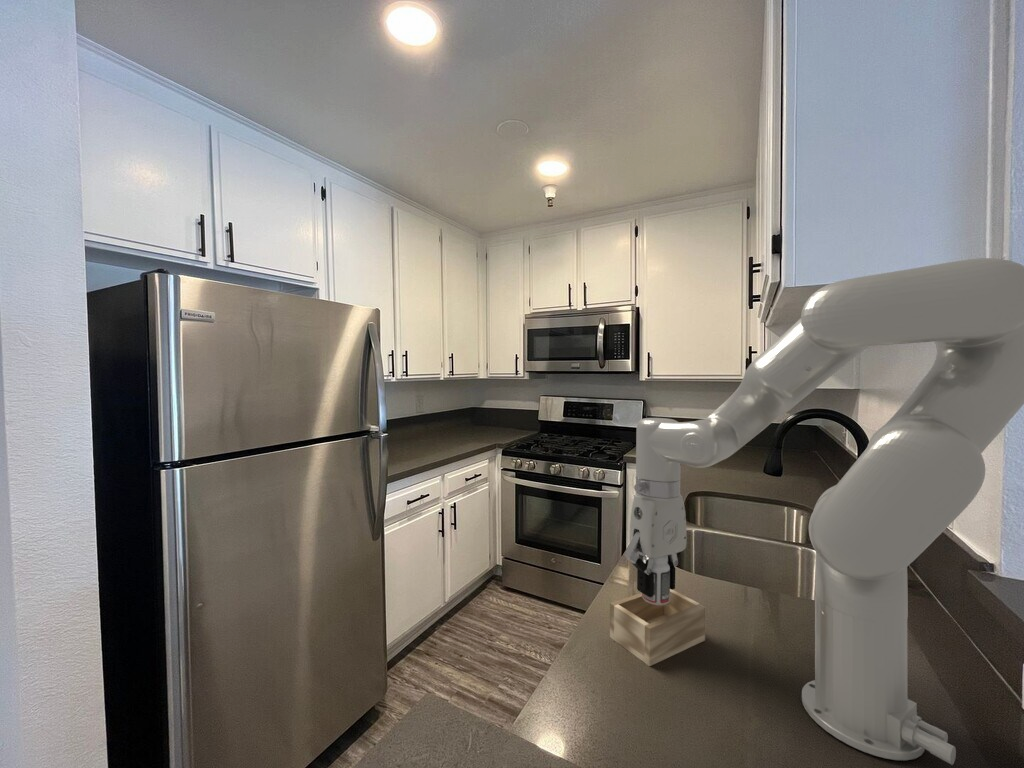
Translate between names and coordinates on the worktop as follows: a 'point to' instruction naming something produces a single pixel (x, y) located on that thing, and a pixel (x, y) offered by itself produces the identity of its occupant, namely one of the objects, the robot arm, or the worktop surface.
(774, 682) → the worktop surface
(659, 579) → the pill bottle
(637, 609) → the open wooden box
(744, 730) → the worktop surface
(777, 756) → the worktop surface
